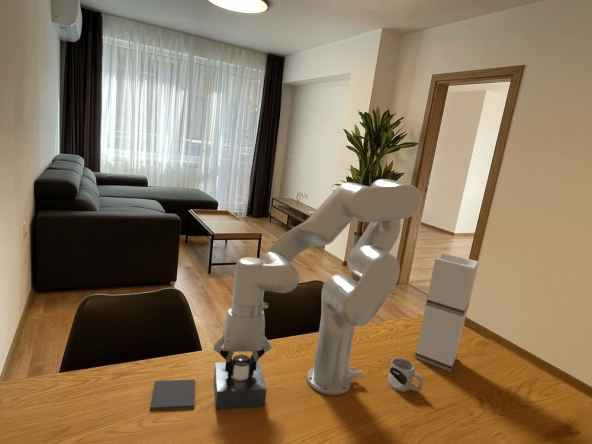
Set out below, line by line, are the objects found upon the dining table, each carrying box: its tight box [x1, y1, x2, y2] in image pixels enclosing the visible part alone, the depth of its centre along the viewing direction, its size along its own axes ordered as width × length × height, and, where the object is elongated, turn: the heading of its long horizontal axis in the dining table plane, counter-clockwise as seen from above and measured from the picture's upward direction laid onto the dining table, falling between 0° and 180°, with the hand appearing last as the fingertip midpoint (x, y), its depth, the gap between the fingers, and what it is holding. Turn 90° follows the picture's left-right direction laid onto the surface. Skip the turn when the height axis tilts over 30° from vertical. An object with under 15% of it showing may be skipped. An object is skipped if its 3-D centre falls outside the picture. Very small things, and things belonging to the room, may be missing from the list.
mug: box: [387, 357, 424, 393], centre depth 110 cm, size 10×7×7 cm, turn 47°
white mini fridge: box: [414, 252, 479, 373], centre depth 125 cm, size 11×11×35 cm
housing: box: [213, 361, 268, 411], centre depth 98 cm, size 12×12×5 cm
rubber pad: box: [149, 379, 196, 411], centre depth 95 cm, size 10×10×1 cm
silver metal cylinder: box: [230, 354, 251, 383], centre depth 98 cm, size 5×5×10 cm
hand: (240, 372), depth 98 cm, fingers closed on silver metal cylinder, 5 cm apart
